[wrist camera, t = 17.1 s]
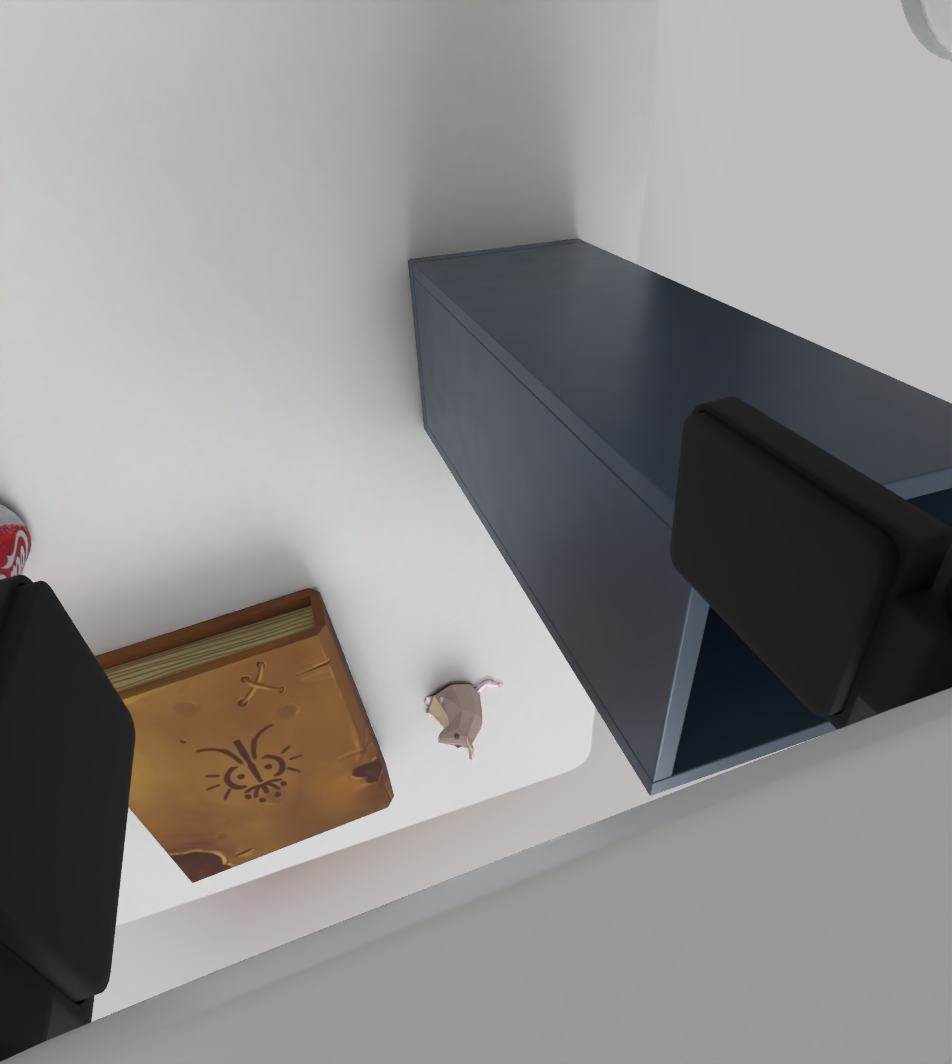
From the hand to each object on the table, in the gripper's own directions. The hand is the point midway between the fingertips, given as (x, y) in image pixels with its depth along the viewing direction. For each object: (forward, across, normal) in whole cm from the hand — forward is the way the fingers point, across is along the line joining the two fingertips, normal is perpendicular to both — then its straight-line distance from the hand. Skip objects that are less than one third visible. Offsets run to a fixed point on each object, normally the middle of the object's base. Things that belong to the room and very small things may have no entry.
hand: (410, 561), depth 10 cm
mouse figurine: (+34, -7, +45) cm, 57 cm away
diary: (+34, +12, +39) cm, 53 cm away
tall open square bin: (+34, -13, +10) cm, 38 cm away
